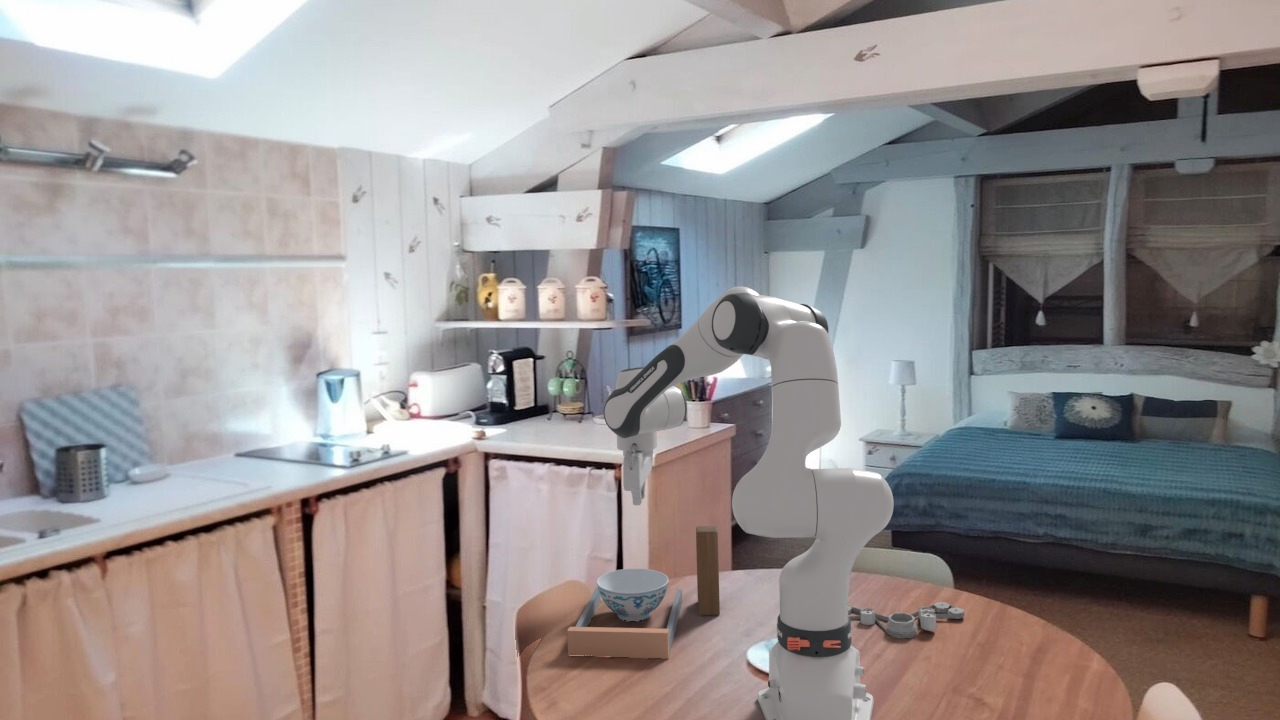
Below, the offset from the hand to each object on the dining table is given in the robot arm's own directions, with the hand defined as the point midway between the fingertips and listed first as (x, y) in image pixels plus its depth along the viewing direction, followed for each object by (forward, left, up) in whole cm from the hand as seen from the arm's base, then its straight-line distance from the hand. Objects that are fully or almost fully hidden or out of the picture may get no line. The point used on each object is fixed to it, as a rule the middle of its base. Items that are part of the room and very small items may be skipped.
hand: (638, 501), depth 202 cm
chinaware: (-13, 0, -21) cm, 25 cm away
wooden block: (-8, -15, -21) cm, 28 cm away
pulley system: (-14, -54, -22) cm, 60 cm away
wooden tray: (-19, 0, -21) cm, 28 cm away
